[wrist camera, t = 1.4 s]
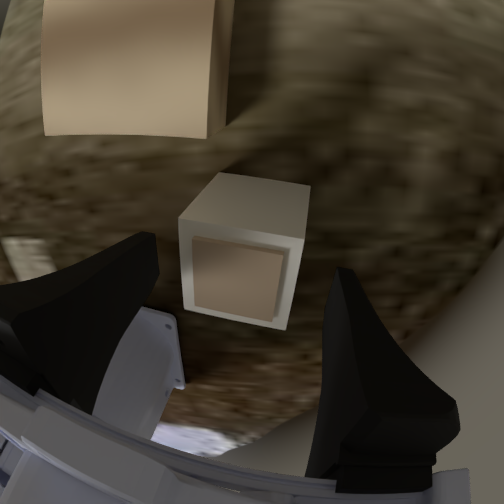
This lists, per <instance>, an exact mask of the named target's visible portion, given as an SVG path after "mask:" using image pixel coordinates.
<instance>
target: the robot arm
mask: <svg viewBox="0 0 504 504" xmlns="http://www.w3.org/2000/svg"><path fill="white" fill-rule="evenodd" d="M159 274H160V273H159V265H158V257H157V248H156V238H155V234H154V233H148V232H143V231H142V232H139V233H137V234H135V235H133V236H130V237H128V238H126V239H124V240H122V241H121V242H119V243H117V244H115V245H113V246H111V247H109V248H107V249H105V250H103V251H101V252H99V253H97V254H95V255H93V256H91V257H89V258H87V259H85V260H83V261H81V262H79V263H76V264H74V265H72V266H69V267H67V268H64V269H62V270H59V271H56V272H53V273H50V274H47V275H44V276H41V277H38V278H34V279H30V280H26V281H22V282H17V283H12V284H6V285H0V504H471V494H470V477H469V469H468V468H464V469H455V470H446V471H440V472H436V473H433V474H432V466H433V465H435V464H436V453H437V452H438V451H439V450H440V449H442V448H443V447H445V446H446V445H447V444H449V443H450V442H451V441H452V440H453V439H454V438H455V437H456V436H457V435H458V433H459V431H460V421H459V413H458V408H457V404H456V401H455V400H454V399H453V398H452V397H451V396H449V395H448V394H447V393H446V392H444V391H443V390H442V389H441V388H439V387H438V386H437V385H436V384H435V383H434V382H432V381H431V380H430V379H429V378H428V377H427V376H426V375H425V374H424V373H423V372H422V371H421V370H420V369H419V368H418V367H417V366H416V365H415V364H414V363H413V362H412V361H411V360H410V358H409V357H408V356H407V355H406V354H405V353H404V352H403V350H402V349H401V348H400V347H399V346H398V344H397V343H396V342H395V340H394V339H393V338H392V336H391V335H390V334H389V332H388V331H387V329H386V328H385V327H384V325H383V323H382V322H381V320H380V319H379V317H378V315H377V314H376V312H375V310H374V309H373V307H372V305H371V303H370V301H369V300H368V298H367V296H366V294H365V292H364V290H363V288H362V286H361V284H360V282H359V280H358V278H357V276H356V274H355V273H354V271H353V270H352V269H346V268H341V267H337V269H336V272H335V276H334V279H333V283H332V286H331V289H330V293H329V296H328V299H327V303H326V306H325V312H324V321H323V331H322V387H321V395H320V402H319V409H318V415H317V421H316V427H315V432H314V437H313V443H312V447H311V452H310V456H309V461H308V465H307V469H306V473H305V477H299V476H291V475H285V474H278V473H272V472H266V471H261V470H255V469H250V468H245V467H240V466H236V465H232V464H227V463H223V462H219V461H215V460H211V459H208V458H204V457H201V456H197V455H194V454H190V453H187V452H183V451H180V450H177V449H174V448H171V447H168V446H165V445H162V444H159V443H156V442H153V441H151V440H150V439H151V437H152V435H153V433H154V431H155V429H156V426H157V424H158V422H159V419H160V417H161V415H162V412H163V410H164V408H165V406H166V403H167V401H168V399H169V396H170V394H171V392H172V389H173V387H175V388H178V389H184V388H185V385H186V384H185V378H184V372H183V365H182V359H181V352H180V345H179V338H178V330H177V323H176V318H175V317H174V316H173V315H172V314H169V313H165V312H161V311H157V310H154V309H150V308H146V307H142V305H143V304H144V302H145V301H146V299H147V298H148V296H149V295H150V293H151V291H152V289H153V287H154V285H155V283H156V281H157V278H158V276H159ZM218 486H219V487H218ZM221 487H223V488H221ZM225 488H228V489H232V490H237V491H241V492H240V493H238V492H234V491H231V490H228V489H225Z"/></svg>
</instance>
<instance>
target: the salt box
mask: <svg viewBox="0 0 504 504" xmlns="http://www.w3.org/2000/svg"><path fill="white" fill-rule="evenodd" d="M310 188H311V186H308V185H302V184H296V183H290V182H284V181H278V180H271V179H265V178H258V177H251V176H244V175H236V174H229V173H221V172H219V173H218V174H217V175H216V176H215V177H214V178H213V180H212V181H211V182H210V183H209V184H208V185H207V186H206V187H205V188H204V189H203V190H202V192H201V193H200V194H199V195H198V196H197V197H196V198H195V199H194V201H193V202H192V203H191V204H190V205H189V206H188V207H187V208H186V210H185V211H184V212H183V213H182V214H181V215H180V216H179V218H178V228H179V247H180V263H181V277H182V290H183V302H184V309H186V310H190V311H195V312H199V313H203V314H208V315H212V316H216V317H221V318H226V319H230V320H235V321H240V322H245V323H249V324H254V325H259V326H264V327H270V328H275V329H280V330H286V326H287V322H288V317H289V313H290V308H291V304H292V299H293V294H294V290H295V285H296V280H297V275H298V270H299V265H300V260H301V255H302V250H303V245H304V240H305V232H306V224H307V215H308V206H309V197H310Z"/></svg>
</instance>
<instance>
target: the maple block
mask: <svg viewBox="0 0 504 504" xmlns="http://www.w3.org/2000/svg"><path fill="white" fill-rule="evenodd" d="M234 3H235V0H44V9H43V21H42V38H41V89H42V107H43V120H44V131H45V136H51V135H80V134H125V135H156V136H174V137H189V138H202V139H207V138H209V137H210V136H212V135H213V134H215V133H216V132H218V131H219V130H221V129H222V128H224V127H225V125H226V108H227V92H228V78H229V64H230V50H231V38H232V26H233V14H234Z"/></svg>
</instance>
